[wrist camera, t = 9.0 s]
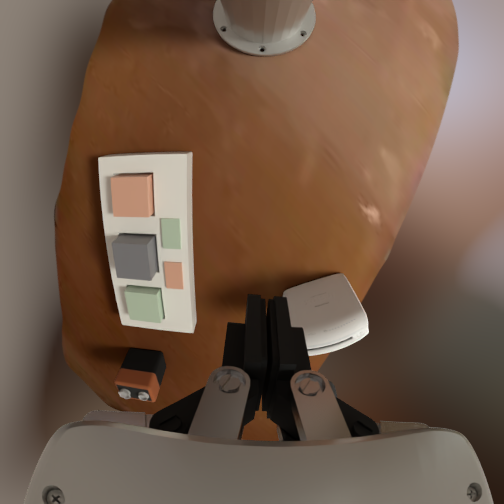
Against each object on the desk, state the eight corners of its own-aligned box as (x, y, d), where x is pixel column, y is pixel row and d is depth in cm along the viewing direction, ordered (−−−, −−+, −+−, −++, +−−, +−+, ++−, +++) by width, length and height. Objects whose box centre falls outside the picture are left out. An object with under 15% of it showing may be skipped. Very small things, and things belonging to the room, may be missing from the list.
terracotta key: (121, 173, 34) (110, 177, 31) (155, 172, 34) (147, 176, 31) (123, 209, 36) (113, 216, 33) (157, 209, 36) (149, 217, 33)
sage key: (132, 280, 41) (124, 291, 38) (162, 283, 41) (156, 294, 38) (136, 307, 43) (130, 319, 40) (166, 310, 43) (160, 323, 40)
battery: (129, 346, 48) (111, 385, 39) (163, 350, 48) (148, 392, 39) (134, 362, 50) (118, 400, 41) (167, 366, 50) (154, 407, 41)
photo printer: (345, 268, 41) (373, 319, 29) (350, 291, 42) (375, 344, 31) (278, 288, 42) (285, 345, 31) (286, 310, 44) (294, 369, 33)
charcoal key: (121, 233, 36) (111, 242, 33) (155, 235, 36) (147, 244, 33) (125, 266, 38) (117, 277, 35) (158, 269, 38) (151, 280, 35)
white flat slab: (108, 154, 34) (97, 157, 31) (192, 151, 34) (186, 154, 31) (128, 313, 45) (121, 325, 42) (196, 321, 45) (193, 334, 42)
